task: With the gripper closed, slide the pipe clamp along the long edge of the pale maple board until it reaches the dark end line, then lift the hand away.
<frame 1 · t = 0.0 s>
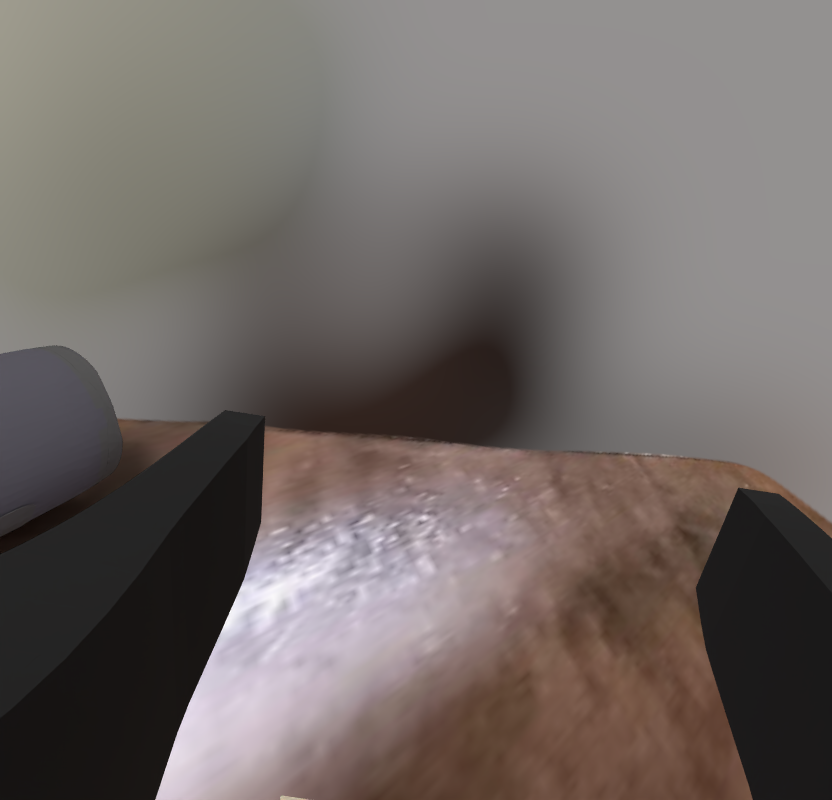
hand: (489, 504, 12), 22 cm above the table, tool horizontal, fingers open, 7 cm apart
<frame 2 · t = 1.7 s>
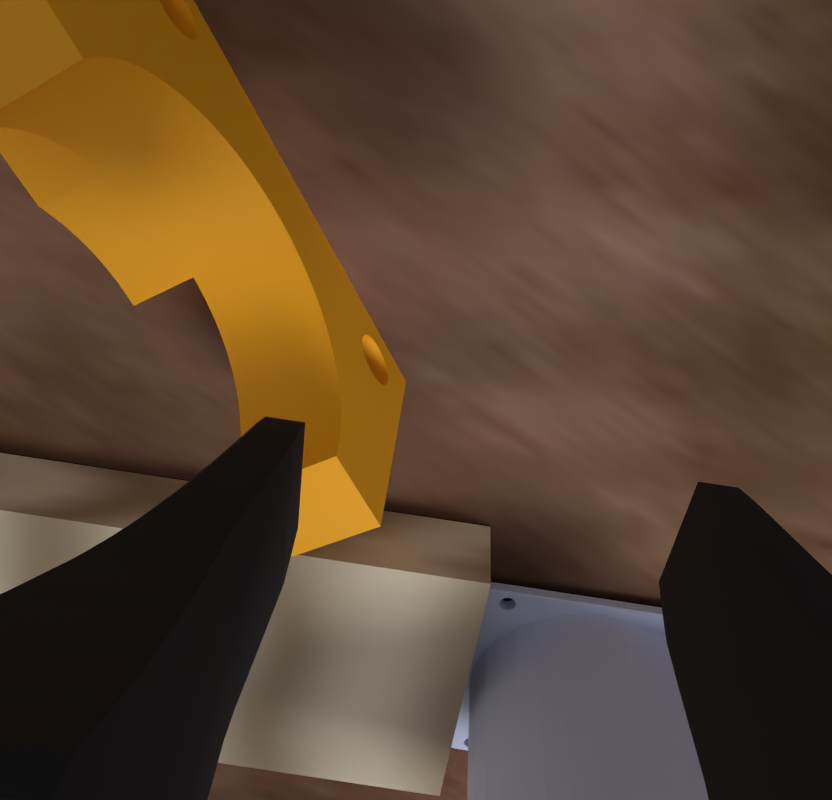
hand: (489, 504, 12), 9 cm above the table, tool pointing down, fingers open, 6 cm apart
maple board: (115, 587, 27), on the table
pipe clamp: (228, 217, 20), on the table
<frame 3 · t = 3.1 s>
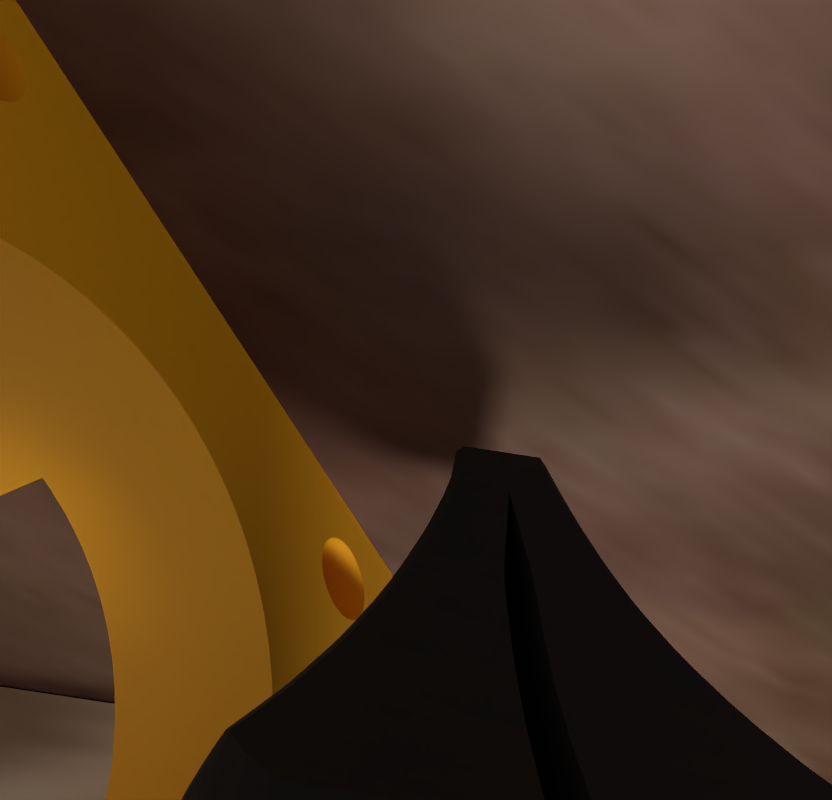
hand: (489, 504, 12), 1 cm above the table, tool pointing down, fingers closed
pipe clamp: (119, 357, 13), on the table, touching gripper
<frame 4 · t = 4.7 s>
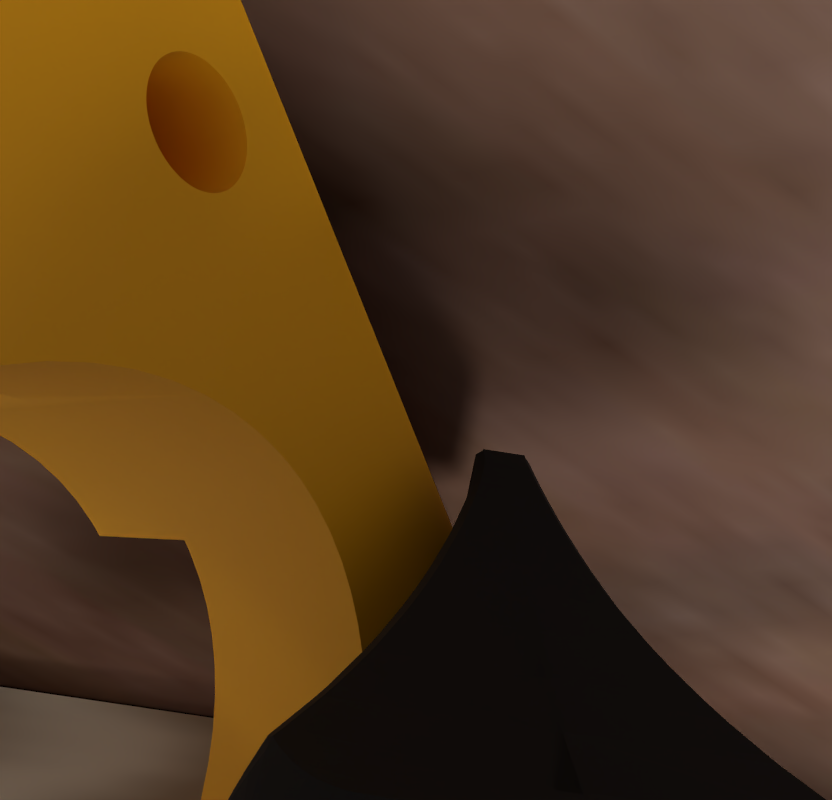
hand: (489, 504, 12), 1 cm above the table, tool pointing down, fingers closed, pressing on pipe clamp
pipe clamp: (289, 402, 12), point 1 cm above the table, touching gripper
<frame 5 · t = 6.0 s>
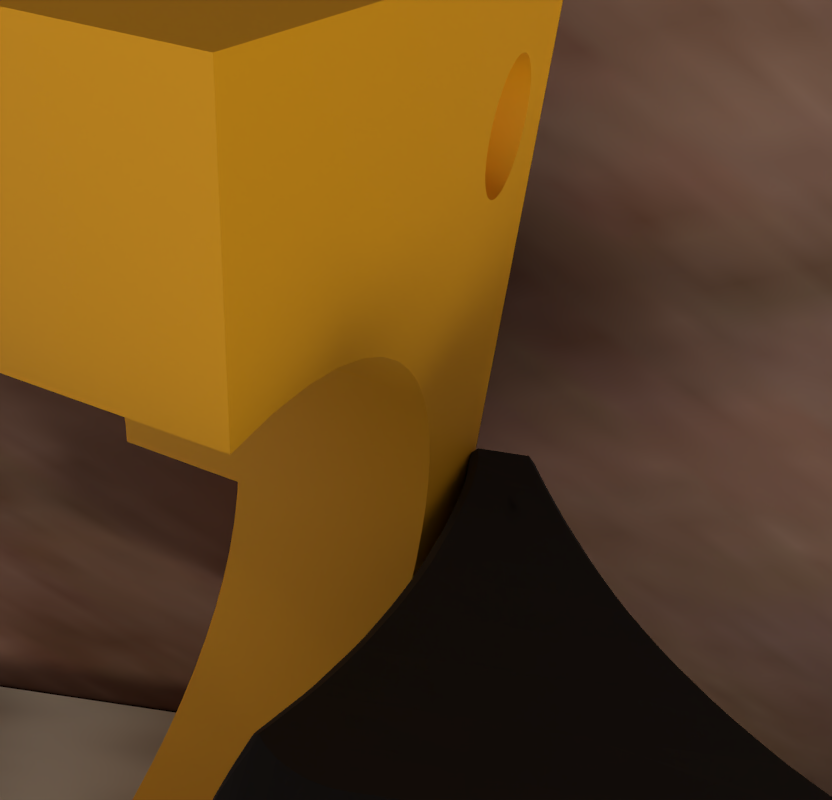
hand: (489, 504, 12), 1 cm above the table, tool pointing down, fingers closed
pipe clamp: (352, 366, 12), on the table, touching gripper
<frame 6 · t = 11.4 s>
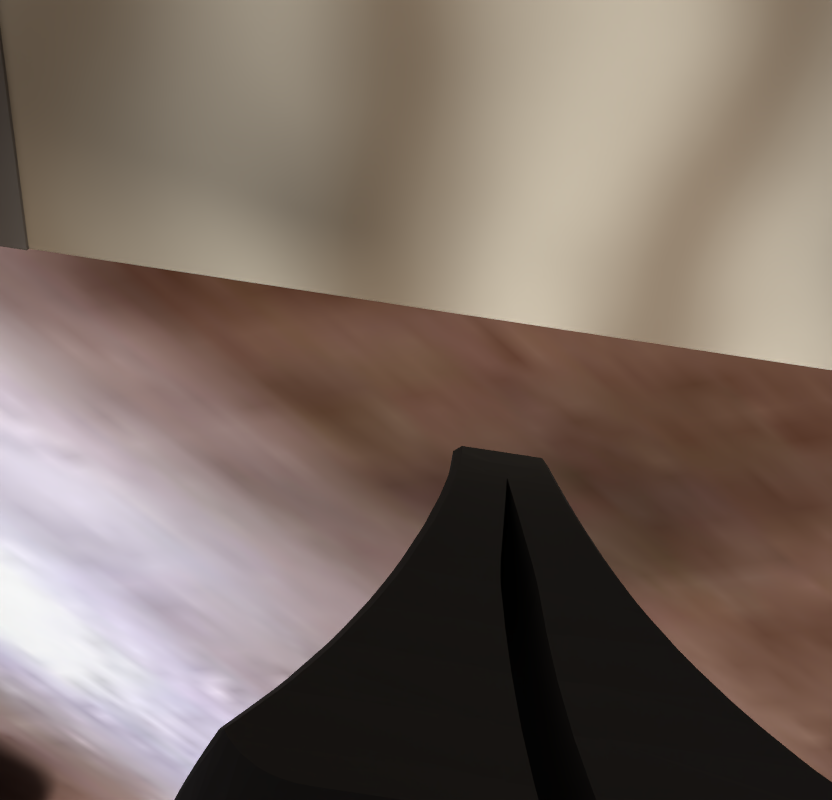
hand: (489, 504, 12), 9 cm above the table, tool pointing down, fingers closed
maple board: (438, 56, 18), on the table
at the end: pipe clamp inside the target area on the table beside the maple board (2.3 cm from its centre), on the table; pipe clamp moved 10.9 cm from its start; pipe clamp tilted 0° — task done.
